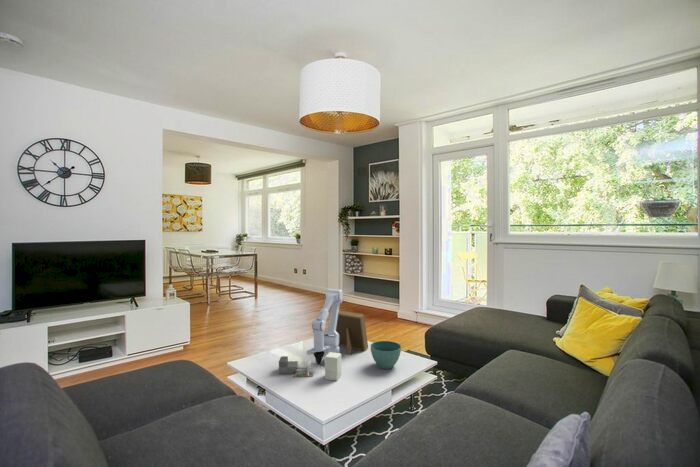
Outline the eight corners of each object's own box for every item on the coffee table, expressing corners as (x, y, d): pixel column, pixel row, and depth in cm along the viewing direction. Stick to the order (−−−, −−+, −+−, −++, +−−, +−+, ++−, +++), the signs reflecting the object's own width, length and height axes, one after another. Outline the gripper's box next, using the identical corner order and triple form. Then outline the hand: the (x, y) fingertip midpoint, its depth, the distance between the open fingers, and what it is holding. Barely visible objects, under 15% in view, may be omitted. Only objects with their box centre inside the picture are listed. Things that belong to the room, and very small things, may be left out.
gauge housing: (297, 367, 206) (297, 356, 206) (295, 373, 198) (295, 361, 198) (281, 368, 206) (281, 356, 206) (278, 374, 198) (278, 361, 198)
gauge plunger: (311, 367, 206) (311, 361, 206) (309, 376, 194) (309, 369, 194) (292, 367, 206) (292, 361, 206) (290, 376, 194) (290, 370, 194)
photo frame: (341, 342, 248) (341, 308, 247) (368, 349, 237) (368, 312, 236) (329, 349, 236) (329, 313, 235) (356, 356, 224) (356, 317, 223)
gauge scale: (313, 373, 198) (313, 373, 198) (312, 376, 195) (312, 376, 195) (293, 374, 198) (293, 373, 198) (292, 377, 194) (292, 376, 194)
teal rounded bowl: (365, 369, 205) (365, 348, 204) (376, 358, 221) (376, 338, 221) (395, 375, 197) (395, 353, 197) (404, 363, 214) (404, 343, 213)
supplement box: (341, 375, 196) (342, 353, 196) (337, 381, 189) (337, 358, 189) (329, 373, 199) (329, 351, 198) (324, 379, 192) (324, 356, 191)
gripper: (325, 336, 210) (325, 359, 210) (304, 341, 201) (304, 365, 201) (332, 339, 204) (332, 362, 205) (310, 345, 195) (310, 369, 196)
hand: (318, 364), depth 203 cm, fingers closed
